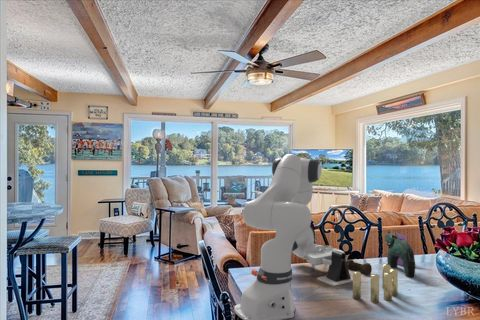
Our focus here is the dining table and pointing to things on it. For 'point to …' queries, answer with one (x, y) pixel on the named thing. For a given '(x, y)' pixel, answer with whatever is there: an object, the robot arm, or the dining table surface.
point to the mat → (333, 283)
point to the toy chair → (406, 240)
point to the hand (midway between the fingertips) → (339, 261)
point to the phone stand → (338, 267)
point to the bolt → (359, 267)
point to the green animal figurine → (400, 253)
